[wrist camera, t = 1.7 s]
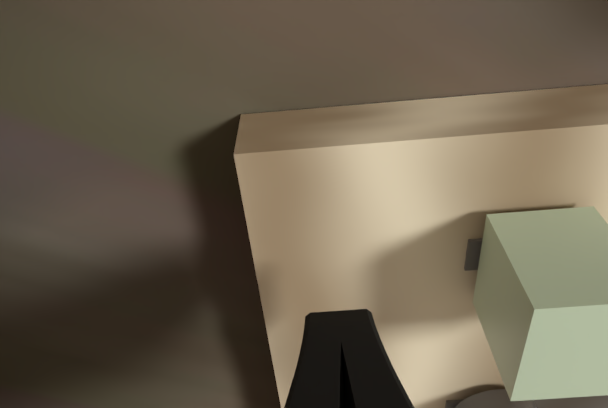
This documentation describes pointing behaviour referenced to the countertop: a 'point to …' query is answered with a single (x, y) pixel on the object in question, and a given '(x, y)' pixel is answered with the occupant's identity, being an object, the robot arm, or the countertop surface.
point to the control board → (409, 218)
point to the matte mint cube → (546, 301)
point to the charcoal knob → (494, 401)
